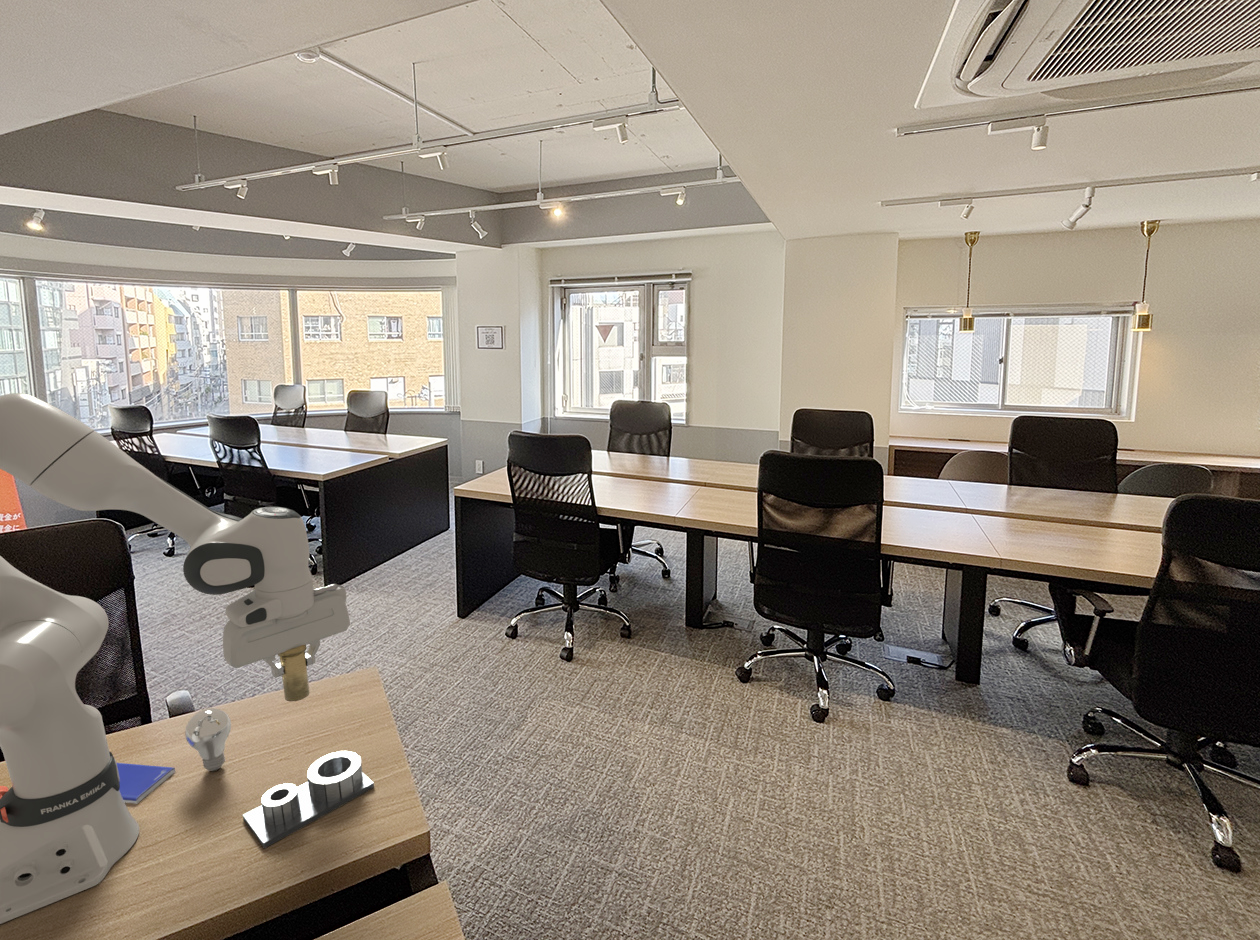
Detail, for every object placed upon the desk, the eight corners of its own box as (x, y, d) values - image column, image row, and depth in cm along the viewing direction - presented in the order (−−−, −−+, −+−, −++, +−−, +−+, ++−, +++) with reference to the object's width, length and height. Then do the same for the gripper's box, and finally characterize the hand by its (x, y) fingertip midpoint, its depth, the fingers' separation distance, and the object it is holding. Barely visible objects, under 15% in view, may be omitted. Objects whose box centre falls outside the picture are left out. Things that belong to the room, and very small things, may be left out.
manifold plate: (264, 848, 100) (260, 824, 99) (243, 819, 106) (239, 796, 105) (374, 787, 113) (371, 765, 112) (350, 764, 119) (347, 743, 118)
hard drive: (174, 766, 118) (114, 761, 119) (135, 798, 110) (71, 792, 111) (176, 773, 118) (115, 768, 119) (137, 806, 110) (73, 800, 112)
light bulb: (216, 784, 114) (205, 725, 112) (183, 779, 116) (172, 720, 113) (246, 759, 121) (237, 702, 118) (214, 754, 122) (205, 698, 120)
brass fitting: (289, 705, 113) (282, 653, 111) (278, 695, 116) (272, 645, 114) (315, 694, 117) (310, 644, 115) (305, 685, 120) (299, 636, 118)
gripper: (337, 576, 122) (343, 643, 125) (214, 610, 107) (225, 685, 110) (352, 585, 118) (358, 654, 121) (227, 622, 103) (238, 699, 106)
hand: (294, 669), depth 115 cm, fingers closed on brass fitting, 4 cm apart
